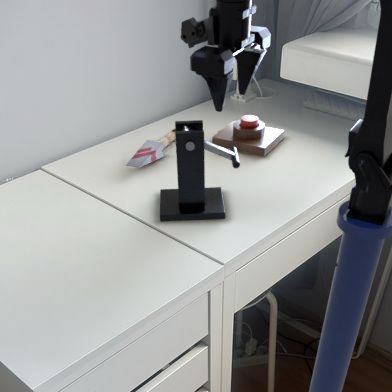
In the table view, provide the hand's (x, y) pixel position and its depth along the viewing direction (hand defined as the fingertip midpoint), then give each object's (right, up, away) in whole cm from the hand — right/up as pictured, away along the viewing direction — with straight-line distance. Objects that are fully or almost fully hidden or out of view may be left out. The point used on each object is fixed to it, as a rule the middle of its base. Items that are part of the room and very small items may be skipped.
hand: (230, 102), depth 91 cm
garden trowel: (-14, -4, +13) cm, 20 cm away
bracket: (-7, -19, -2) cm, 21 cm away
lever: (-5, -13, -9) cm, 16 cm away
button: (+5, +2, +14) cm, 15 cm away
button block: (+5, 0, +16) cm, 17 cm away
